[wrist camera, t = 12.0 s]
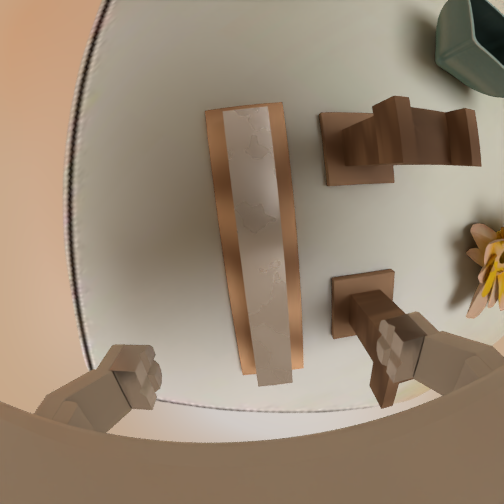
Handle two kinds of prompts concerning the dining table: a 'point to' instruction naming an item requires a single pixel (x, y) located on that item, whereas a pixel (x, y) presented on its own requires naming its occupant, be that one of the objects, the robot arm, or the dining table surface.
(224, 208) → the light wood flat board
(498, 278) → the decorative flower
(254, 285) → the steel rail
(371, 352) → the walnut post
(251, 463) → the robot arm
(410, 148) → the walnut post
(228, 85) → the dining table surface
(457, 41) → the flower pot
